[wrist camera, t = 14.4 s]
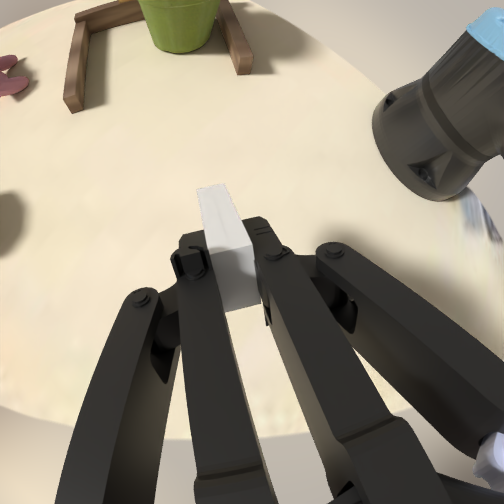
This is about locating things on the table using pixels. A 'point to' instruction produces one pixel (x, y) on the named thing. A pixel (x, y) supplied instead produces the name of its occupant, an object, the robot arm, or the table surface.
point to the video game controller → (8, 86)
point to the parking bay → (129, 12)
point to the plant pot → (179, 23)
